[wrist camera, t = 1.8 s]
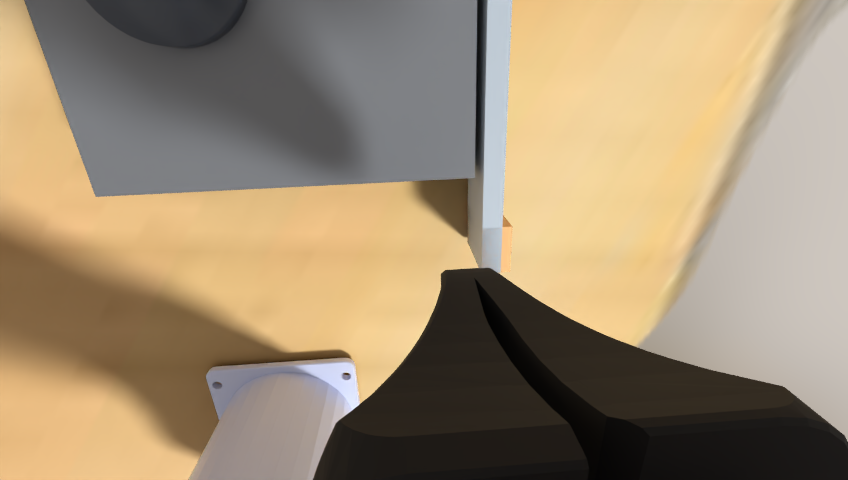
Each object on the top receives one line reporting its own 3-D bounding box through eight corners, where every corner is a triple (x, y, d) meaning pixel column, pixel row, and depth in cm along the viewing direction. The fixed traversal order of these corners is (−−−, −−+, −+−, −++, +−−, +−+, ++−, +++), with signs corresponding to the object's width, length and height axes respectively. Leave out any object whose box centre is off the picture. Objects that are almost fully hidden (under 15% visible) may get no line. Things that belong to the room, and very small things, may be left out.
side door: (491, 240, 20) (509, 271, 16) (467, 241, 19) (481, 273, 16) (501, -87, 15) (531, -136, 11) (469, -87, 15) (490, -135, 11)
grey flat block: (461, 161, 18) (478, 182, 14) (151, 175, 18) (79, 202, 14) (460, -165, 14) (486, -265, 10) (50, -160, 13) (-100, -266, 9)
